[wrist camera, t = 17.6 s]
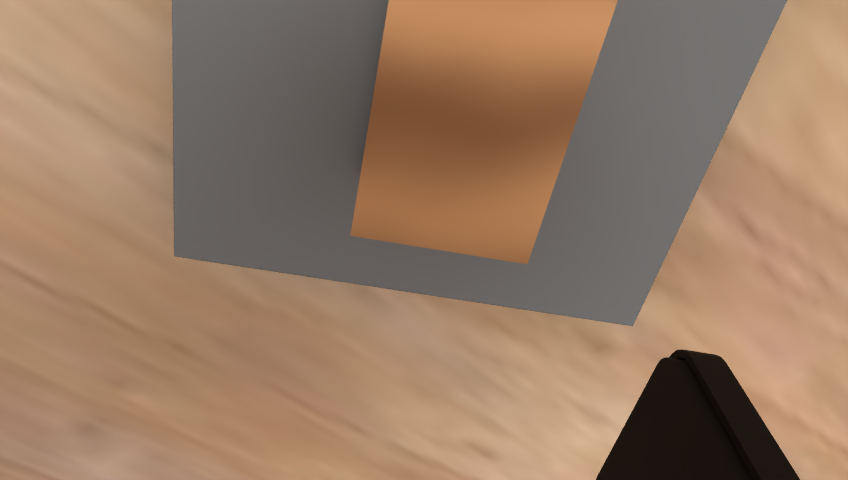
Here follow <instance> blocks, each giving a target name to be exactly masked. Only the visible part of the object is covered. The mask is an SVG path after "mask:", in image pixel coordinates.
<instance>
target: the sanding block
mask: <svg viewBox="0 0 848 480" xmlns="http://www.w3.org/2000/svg"><path fill="white" fill-rule="evenodd" d="M617 1H618V0H389V2H388V8H387V14H386V20H385V27H384V33H383V39H382V45H381V51H380V57H379V63H378V69H377V76H376V82H375V88H374V94H373V100H372V106H371V112H370V119H369V125H368V131H367V137H366V143H365V149H364V155H363V161H362V168H361V174H360V180H359V186H358V192H357V198H356V204H355V210H354V217H353V223H352V229H351V235H350V236H355V237H362V238H368V239H374V240H380V241H386V242H393V243H399V244H405V245H411V246H417V247H423V248H430V249H436V250H442V251H448V252H454V253H461V254H467V255H473V256H479V257H485V258H491V259H498V260H504V261H510V262H516V263H522V264H528V261H529V258H530V255H531V252H532V249H533V246H534V244H535V241H536V238H537V235H538V232H539V229H540V226H541V223H542V220H543V217H544V214H545V211H546V209H547V206H548V203H549V200H550V197H551V194H552V191H553V188H554V185H555V182H556V179H557V176H558V174H559V171H560V168H561V165H562V162H563V159H564V156H565V153H566V150H567V147H568V144H569V141H570V139H571V136H572V133H573V130H574V127H575V124H576V121H577V118H578V115H579V112H580V109H581V106H582V104H583V101H584V98H585V95H586V92H587V89H588V86H589V83H590V80H591V77H592V74H593V71H594V68H595V66H596V63H597V60H598V57H599V54H600V51H601V48H602V45H603V42H604V39H605V36H606V33H607V31H608V28H609V25H610V22H611V19H612V16H613V13H614V10H615V7H616V4H617Z"/></svg>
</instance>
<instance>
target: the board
mask: <svg viewBox="0 0 848 480" xmlns="http://www.w3.org/2000/svg"><path fill="white" fill-rule="evenodd" d="M388 2H389V0H172V35H173V164H174V256H176V257H182V258H189V259H196V260H202V261H209V262H215V263H222V264H228V265H235V266H241V267H248V268H255V269H261V270H268V271H274V272H281V273H287V274H294V275H301V276H307V277H314V278H320V279H327V280H333V281H340V282H347V283H353V284H360V285H366V286H373V287H379V288H386V289H392V290H399V291H406V292H412V293H419V294H425V295H432V296H438V297H445V298H452V299H458V300H465V301H471V302H478V303H484V304H491V305H497V306H504V307H511V308H517V309H524V310H530V311H537V312H543V313H550V314H557V315H563V316H570V317H576V318H583V319H589V320H596V321H603V322H609V323H616V324H622V325H629V326H633V324H634V322H635V320H636V318H637V316H638V314H639V312H640V310H641V308H642V305H643V303H644V301H645V299H646V297H647V295H648V293H649V291H650V289H651V287H652V284H653V282H654V280H655V278H656V276H657V274H658V272H659V270H660V268H661V265H662V263H663V261H664V259H665V257H666V255H667V253H668V251H669V249H670V246H671V244H672V242H673V240H674V238H675V236H676V234H677V232H678V230H679V227H680V225H681V223H682V221H683V219H684V217H685V215H686V213H687V211H688V208H689V206H690V204H691V202H692V200H693V198H694V196H695V194H696V192H697V190H698V187H699V185H700V183H701V181H702V179H703V177H704V175H705V173H706V171H707V168H708V166H709V164H710V162H711V160H712V158H713V156H714V154H715V152H716V149H717V147H718V145H719V143H720V141H721V139H722V137H723V135H724V133H725V130H726V128H727V126H728V124H729V122H730V120H731V118H732V116H733V114H734V111H735V109H736V107H737V105H738V103H739V101H740V99H741V97H742V95H743V93H744V90H745V88H746V86H747V84H748V82H749V80H750V78H751V76H752V74H753V71H754V69H755V67H756V65H757V63H758V61H759V59H760V57H761V55H762V52H763V50H764V48H765V46H766V44H767V42H768V40H769V38H770V36H771V33H772V31H773V29H774V27H775V25H776V23H777V21H778V19H779V17H780V14H781V12H782V10H783V8H784V6H785V4H786V2H787V0H618V1H617V4H616V7H615V10H614V13H613V16H612V19H611V22H610V25H609V28H608V31H607V33H606V36H605V39H604V42H603V45H602V48H601V51H600V54H599V57H598V60H597V63H596V66H595V68H594V71H593V74H592V77H591V80H590V83H589V86H588V89H587V92H586V95H585V98H584V101H583V104H582V106H581V109H580V112H579V115H578V118H577V121H576V124H575V127H574V130H573V133H572V136H571V139H570V141H569V144H568V147H567V150H566V153H565V156H564V159H563V162H562V165H561V168H560V171H559V174H558V176H557V179H556V182H555V185H554V188H553V191H552V194H551V197H550V200H549V203H548V206H547V209H546V211H545V214H544V217H543V220H542V223H541V226H540V229H539V232H538V235H537V238H536V241H535V244H534V246H533V249H532V252H531V255H530V258H529V261H528V264H522V263H516V262H510V261H504V260H498V259H491V258H485V257H479V256H473V255H467V254H461V253H454V252H448V251H442V250H436V249H430V248H423V247H417V246H411V245H405V244H399V243H393V242H386V241H380V240H374V239H368V238H362V237H355V236H350V235H351V229H352V223H353V217H354V210H355V204H356V198H357V192H358V186H359V180H360V174H361V168H362V161H363V155H364V149H365V143H366V137H367V131H368V125H369V119H370V112H371V106H372V100H373V94H374V88H375V82H376V76H377V69H378V63H379V57H380V51H381V45H382V39H383V33H384V27H385V20H386V14H387V8H388Z"/></svg>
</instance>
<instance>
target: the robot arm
mask: <svg viewBox="0 0 848 480" xmlns="http://www.w3.org/2000/svg"><path fill="white" fill-rule="evenodd" d="M596 480H800V479H799V477H798V476H797V474H796V473H795V471H794V469H793V468H792V466H791V465H790V463H789V461H788V460H787V458H786V457H785V455H784V454H783V452H782V450H781V449H780V447H779V446H778V444H777V442H776V441H775V439H774V438H773V436H772V435H771V433H770V431H769V430H768V428H767V427H766V425H765V423H764V422H763V420H762V419H761V417H760V416H759V414H758V412H757V411H756V409H755V408H754V406H753V404H752V403H751V401H750V400H749V398H748V397H747V395H746V393H745V392H744V390H743V389H742V387H741V386H740V384H739V382H738V381H737V379H736V378H735V376H734V374H733V373H732V371H731V370H730V368H729V367H728V365H727V363H726V362H725V361H724V360H723V359H722V357H720V356H717V355H714V354H707V353H701V352H694V351H688V350H677V351H675V352H674V353H672V355H671V356H670V357H669V358H663V359H661V360H660V361H659V363H658V364H657V366H656V368H655V370H654V372H653V373H652V375H651V377H650V379H649V381H648V383H647V385H646V387H645V388H644V390H643V392H642V394H641V396H640V398H639V400H638V401H637V403H636V405H635V407H634V409H633V411H632V413H631V414H630V416H629V418H628V420H627V422H626V424H625V426H624V428H623V429H622V431H621V433H620V435H619V437H618V439H617V441H616V442H615V444H614V446H613V448H612V450H611V452H610V454H609V456H608V457H607V459H606V461H605V463H604V465H603V467H602V469H601V470H600V472H599V474H598V476H597V479H596Z"/></svg>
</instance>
